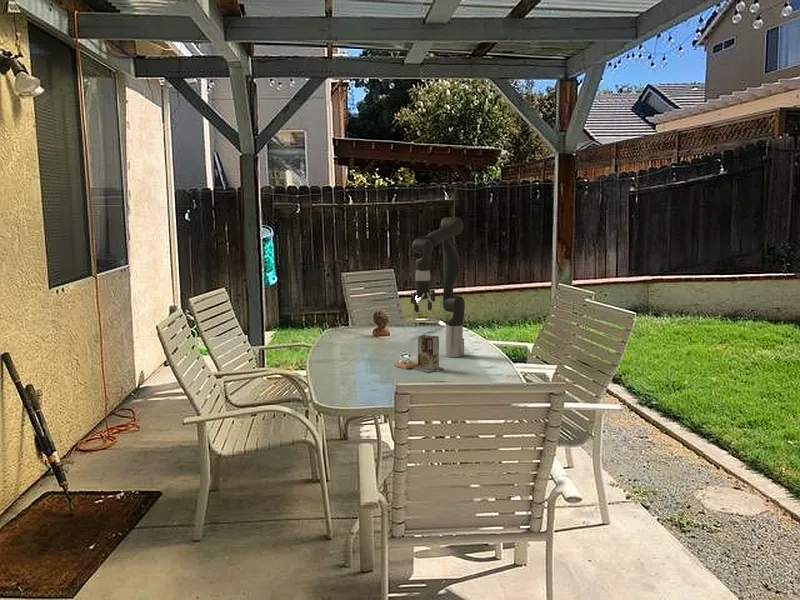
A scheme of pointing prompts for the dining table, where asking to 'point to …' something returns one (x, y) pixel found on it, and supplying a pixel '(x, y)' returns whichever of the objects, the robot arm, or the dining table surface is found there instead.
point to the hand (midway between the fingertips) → (423, 311)
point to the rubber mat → (427, 369)
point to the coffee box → (428, 352)
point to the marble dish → (414, 364)
